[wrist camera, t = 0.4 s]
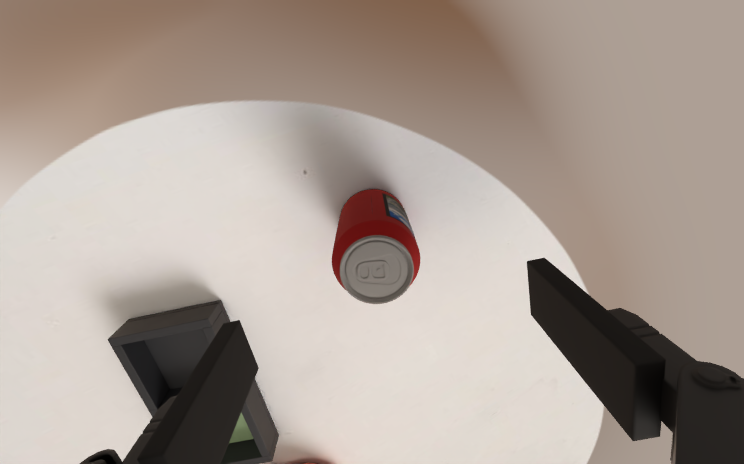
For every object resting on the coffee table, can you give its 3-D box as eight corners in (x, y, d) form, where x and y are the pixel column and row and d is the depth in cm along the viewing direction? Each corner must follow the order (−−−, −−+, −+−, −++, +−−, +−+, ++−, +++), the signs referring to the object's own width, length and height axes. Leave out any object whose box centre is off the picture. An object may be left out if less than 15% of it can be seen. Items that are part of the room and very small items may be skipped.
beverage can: (407, 246, 38) (425, 308, 27) (343, 251, 38) (334, 315, 27) (404, 184, 36) (422, 223, 24) (336, 189, 36) (324, 231, 24)
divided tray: (128, 319, 40) (106, 339, 37) (221, 300, 40) (207, 318, 36) (199, 450, 48) (187, 476, 44) (279, 435, 47) (272, 461, 44)
